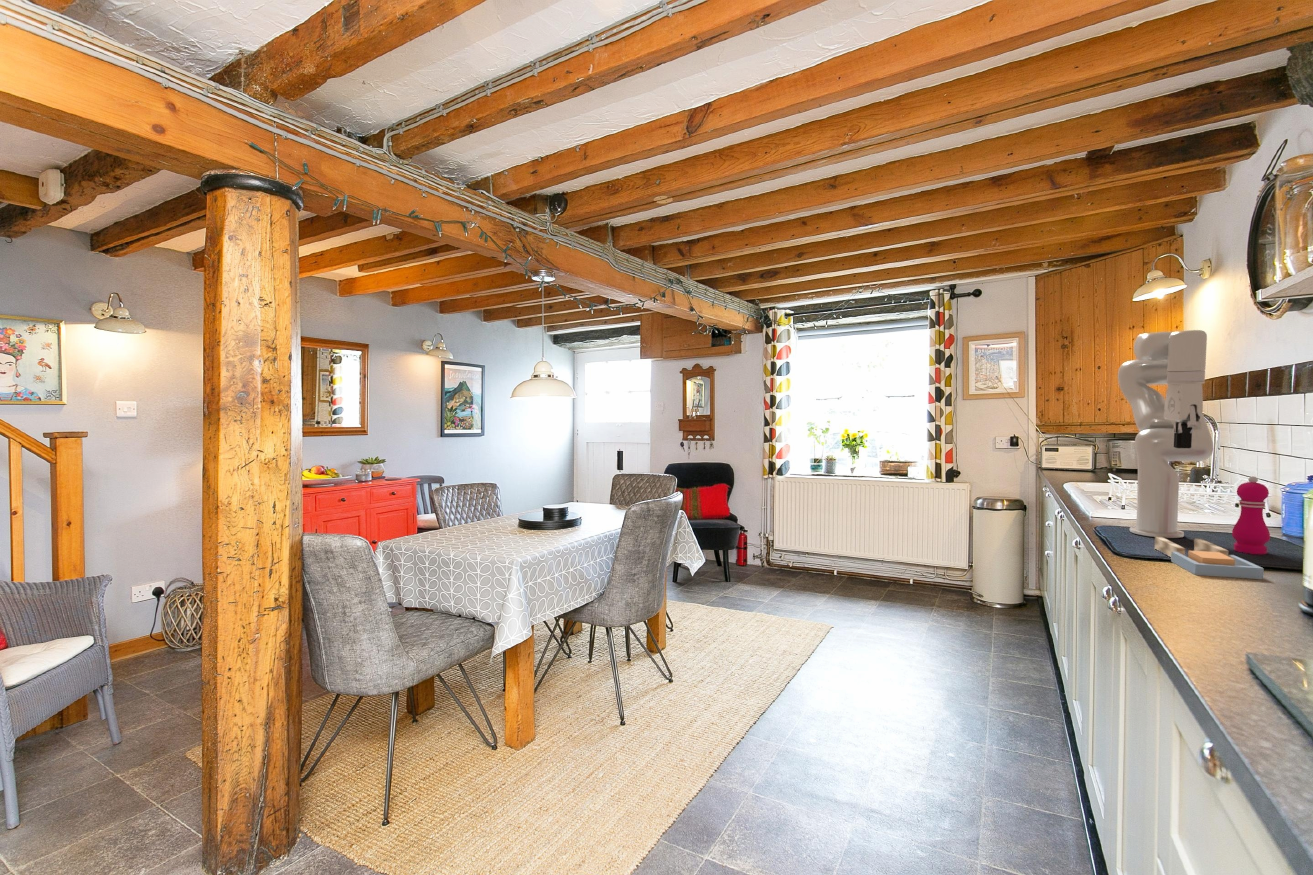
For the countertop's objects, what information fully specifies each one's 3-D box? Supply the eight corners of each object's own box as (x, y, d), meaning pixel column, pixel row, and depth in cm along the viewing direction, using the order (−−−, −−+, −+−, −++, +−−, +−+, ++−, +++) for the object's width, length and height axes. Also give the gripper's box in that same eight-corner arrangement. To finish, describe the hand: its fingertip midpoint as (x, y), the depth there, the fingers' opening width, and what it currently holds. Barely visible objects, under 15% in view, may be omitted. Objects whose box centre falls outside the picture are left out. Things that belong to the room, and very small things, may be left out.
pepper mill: (1252, 548, 164) (1256, 474, 163) (1277, 555, 157) (1281, 478, 156) (1223, 548, 165) (1226, 474, 164) (1246, 554, 158) (1250, 478, 157)
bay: (1171, 561, 153) (1171, 551, 153) (1233, 565, 149) (1234, 555, 149) (1194, 574, 142) (1195, 564, 141) (1263, 579, 137) (1263, 568, 137)
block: (1187, 566, 149) (1188, 550, 149) (1218, 568, 147) (1219, 552, 147) (1201, 574, 143) (1202, 557, 142) (1234, 576, 140) (1235, 559, 140)
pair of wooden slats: (1154, 549, 165) (1154, 536, 165) (1201, 552, 161) (1201, 539, 161) (1176, 561, 153) (1177, 547, 152) (1227, 564, 149) (1228, 550, 149)
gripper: (1155, 378, 168) (1152, 444, 169) (1181, 379, 154) (1178, 451, 155) (1189, 377, 165) (1186, 444, 167) (1218, 378, 151) (1214, 451, 153)
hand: (1182, 447), depth 161 cm, fingers closed
